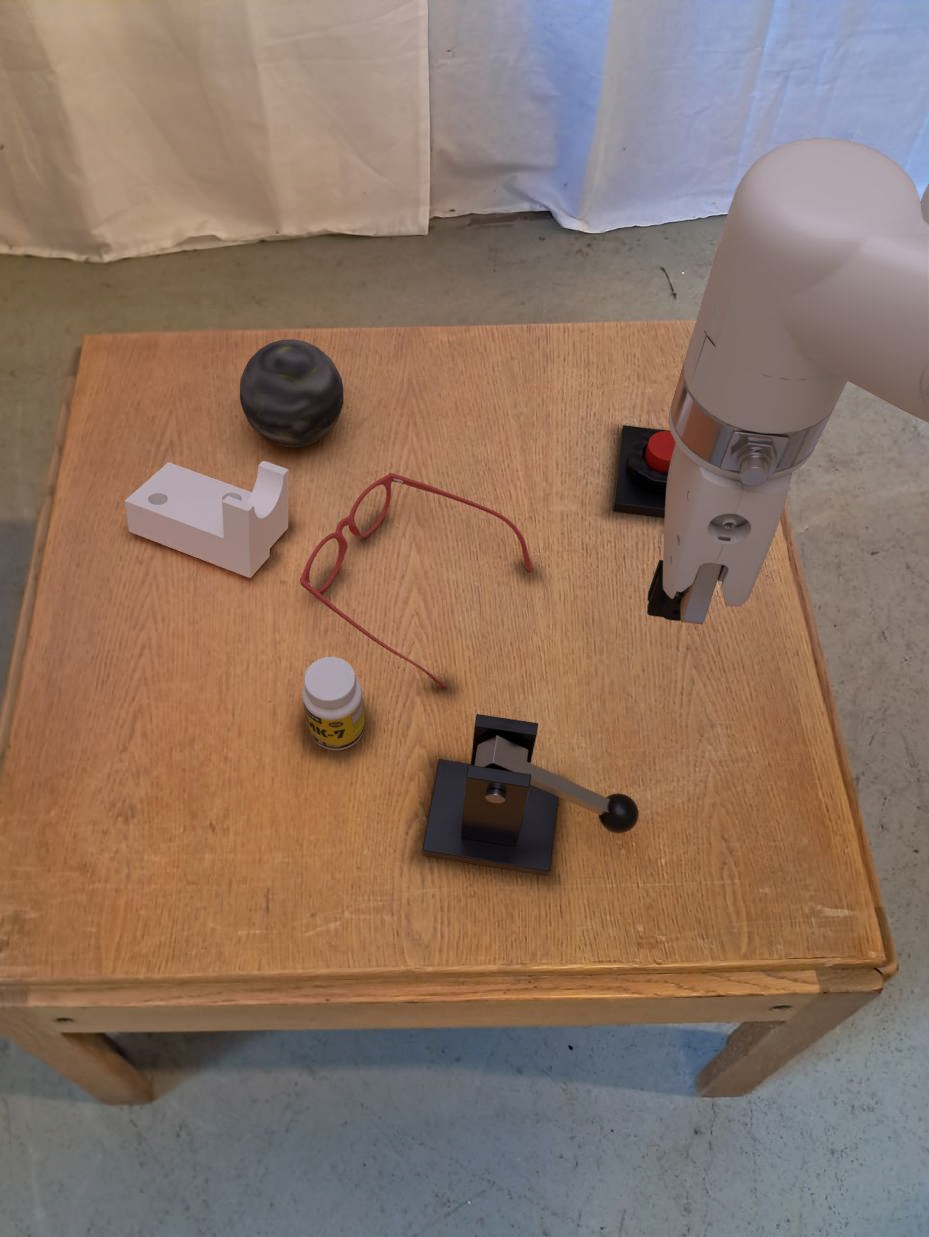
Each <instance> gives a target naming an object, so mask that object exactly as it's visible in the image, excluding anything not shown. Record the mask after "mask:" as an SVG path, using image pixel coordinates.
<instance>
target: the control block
mask: <svg viewBox="0 0 929 1237" xmlns="http://www.w3.org/2000/svg"><path fill="white" fill-rule="evenodd" d="M661 431H670V429H661V428H660V429H659V428H650V427H644V426H643V427H642V426H633V425H627V424H623V425H622V427H621V432H620V440H619V448H618V449H619V450H618V458H617V469H616V478H615V488H614V497H613V507H612V512H618V513H623V514H624V513H625V514H633V515H640V516H648V517H656V518H664V519H665V501H666V487H667V478H668V472H659V471H656V470H654V469H652V468H651V467H650V466H649V465H648V464H647V462H646V460H645V453H646V449H647V445H648V442H649V439H650V438H651V436H652V435H654V434H655V433H658V432H661ZM670 432H671V431H670Z"/></svg>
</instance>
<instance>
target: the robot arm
mask: <svg viewBox="0 0 929 1237" xmlns="http://www.w3.org/2000/svg"><path fill="white" fill-rule="evenodd" d="M728 208H729V209H728V212H727V215H726V217H725V221H724V225H723V228H722V232H721V235H720V238H719V243H718V246H717V248H716V252H715V255H714V259H713V262H712V266H711V268H710V272H709V275H708V278H707V282H706V286H705V289H704V292H703V295H702V298H701V303H700V306H699V310H698V314H697V316H696V320H695V323H694V327H693V329H692V330H693V331H692V333H691V336H690V339H689V343H688V346H687V350H686V353H685V357H684V360H683V363H682V366H681V371H680V374H679V377H678V380H677V384H676V387H675V391H674V394H673V398H672V400H671V403H670V407H669V411H668V426H669V431H671V434H672V436H673V438H674V440H675V442H676V444H675V447H674V451H673V454H672V458H671V462H670V467H669V472H668V478H667V487H666V501H665V518H664V521H663V522H664V523H663V524H664V525H663V550H662V551H663V552H662V553H663V554H662V559H659V560H658V563H657V565H656V568H655V572H654V574H653V577H652V580H651V583H650V586H649V588H648V591H647V601H648V603H647V606H646V608H647V610H646V613H647V615H648V616H650V617H656V618H657V617H658V618H663V619H665V620H668V621H674V622H681V623H685V624H693V625H701V626H703V624H704V622H705V620H706V618H707V617H706V616H707V613H708V611H709V608H710V605H711V601H712V598H713V595H714V593H715V589H716V587H717V583H718V582H721V584H720V588H721V592H722V597H723V600H724V604H725V606H726V607H736V608H741V606H743V605H744V604H745V603H747V601H748V600H749V598H750V596H751V595H752V592H753V589H754V588H755V585H756V582H757V580H758V578H759V575H760V573H761V571H762V568H763V566H764V564H765V561H766V559H767V556H768V553H769V551H770V548H771V545H772V544H773V541H774V538H775V535H776V533H777V531H778V530H777V529H778V527H779V524H780V521H781V519H782V514H783V512H784V508H785V505H786V502H787V498H788V495H789V494H788V493H789V489H790V486H791V482H792V481H791V480H792V477H793V473H794V472H795V471H798V470H799V469H800V468H801V467H803V466H804V465H805V464H806V463H807V461H808V460H809V459H810V458H811V456H812V455H813V452H814V451H815V448H816V447H817V444H818V442H819V440H820V438H821V437H822V435H823V432H824V430H825V428H826V426H827V424H828V422H829V420H830V419H831V416H832V414H833V412H834V410H835V408H836V406H837V404H838V402H839V400H840V397H841V396H842V393H843V391H844V390H845V388H846V385H847V383H848V382H849V383H851V384H853V385H854V386H857V387H858V388H860V389H862V390H863V391H866V392H868V393H870V394H871V395H874V396H875V397H877V398H878V399H881V400H882V401H885V402H886V403H888V404H890V405H892V406H894V407H895V408H897V409H900V410H901V411H903V412H904V413H907V414H909V415H911V416H912V417H915V418H916V419H919V420H922V421H924V422H926V423H928V424H929V183H928V184H927V186H926V188H925V189H924V191H923V193H922V196H921V198H920V195H919V192H918V190H917V186H916V184H915V183H914V181H913V179H912V178H911V176H910V175H909V174H908V173H907V172H906V170H904V168H902V167H901V166H900V165H899V164H898V162H896V161H895V160H894V159H892V158H891V157H890V156H888V155H887V154H885V153H883V152H882V151H879V150H877V149H875V148H874V147H873V148H872V147H870V146H868V145H866V144H862V143H859V142H855V141H851V140H846V139H841V138H831V137H811V138H804V139H803V138H802V139H798V140H794V141H791V142H790V141H789V142H788V143H787V142H786V143H784V144H782V145H779V146H776V147H774V148H773V149H771V150H770V151H769V150H768V151H767V152H766V153H765V154H763V155H762V156H761V157H760V158H758V159H757V160H756V161H754V163H753V164H752V165H751V166H750V167H749V168H748V169H747V171H746V172H745V174H744V175H743V176H742V177H741V179H740V181H739V183H738V185H737V187H736V189H735V192H734V195H733V197H732V200H731V202H730V206H729V207H728Z"/></svg>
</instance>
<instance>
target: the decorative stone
mask: <svg viewBox="0 0 929 1237" xmlns="http://www.w3.org/2000/svg"><path fill="white" fill-rule="evenodd" d="M340 374H341V373H340V372H339V370H338V369H337V366H336V364H335V363H334V361H333V360H332V358H331V357H329V355H328V354H326V353H325V351H323V350H322V349H321V348H319V347H318V346H316V345H314V344H312V343H309V342H307V341H305V340H301V339H300V340H299V339H295V338H292V339H280V340H275V341H273V342H269V343H268V344H266V345H264V346H262V347H260V349H258V350H257V351H256V352H255V353H254V355H252V356H251V357H250V358H249V360H248V361H247V363H246V365H245V367H244V369H243V372H242V374H241V377H240V382H239V402H240V406H241V409H242V411H243V414H244V416H245V418H246V420H247V422H248V424H249V425H250V427H251V428H253V429H254V431H255V432H256V433H257V434H258V435H259V436H261V438H263V439H264V440H266V441H268V442H270V443H272V444H274V445H276V446H281V447H287V448H301V447H306V446H309V445H313V444H314V443H316V442H318V441H320V440H321V439H323V438H325V437H326V436H327V435H328V433H329V432H330V431H331V430H332V429H333V428H334V427H335V425H337V422H338V420H339V418H340V415H341V413H342V410H343V406H344V382H343V379H342V376H341V375H340Z"/></svg>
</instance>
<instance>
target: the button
mask: <svg viewBox="0 0 929 1237" xmlns="http://www.w3.org/2000/svg"><path fill="white" fill-rule="evenodd" d="M675 444H676V442H675V440H674V438H673V436H672V434H671V432H670V430H669V431H661V432H658V433H655V434H654V435H652V436H651V438H650V439H649V442H648V445H647V449H646V453H645V460H646V462H647V464H648V465H649V466H650V467H651V468H652V469H654V470H656V471H659V472H669V467H670V462H671V458H672V454H673V451H674V447H675Z"/></svg>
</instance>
